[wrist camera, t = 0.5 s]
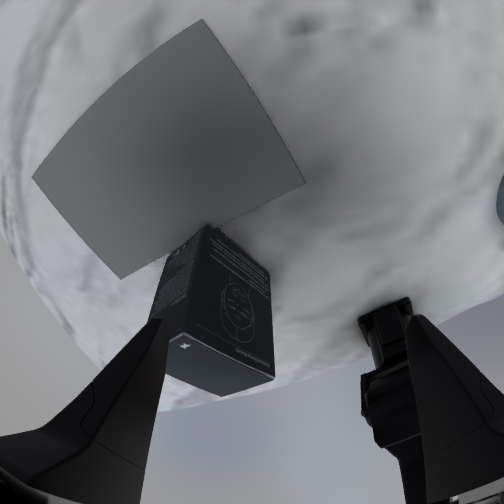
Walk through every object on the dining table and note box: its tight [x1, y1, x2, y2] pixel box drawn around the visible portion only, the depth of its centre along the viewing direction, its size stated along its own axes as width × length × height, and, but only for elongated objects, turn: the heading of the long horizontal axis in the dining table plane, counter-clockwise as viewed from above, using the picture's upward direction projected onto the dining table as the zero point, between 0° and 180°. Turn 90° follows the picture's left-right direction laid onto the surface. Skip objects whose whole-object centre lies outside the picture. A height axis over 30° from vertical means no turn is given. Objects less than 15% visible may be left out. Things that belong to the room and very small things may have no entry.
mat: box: [32, 19, 305, 279], centre depth 20 cm, size 14×20×1 cm
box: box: [147, 224, 275, 397], centre depth 21 cm, size 8×6×11 cm
